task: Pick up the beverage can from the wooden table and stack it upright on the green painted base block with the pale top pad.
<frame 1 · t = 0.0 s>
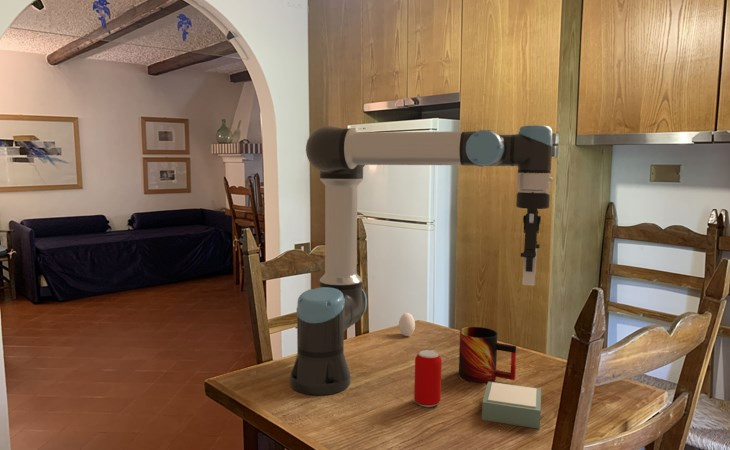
hand: (529, 279, 128), 28 cm above the table, fingers open, 13 cm apart
mug: (485, 377, 140), on the table
egg: (406, 336, 173), on the table
beverage can: (427, 403, 124), on the table
base: (512, 412, 119), on the table
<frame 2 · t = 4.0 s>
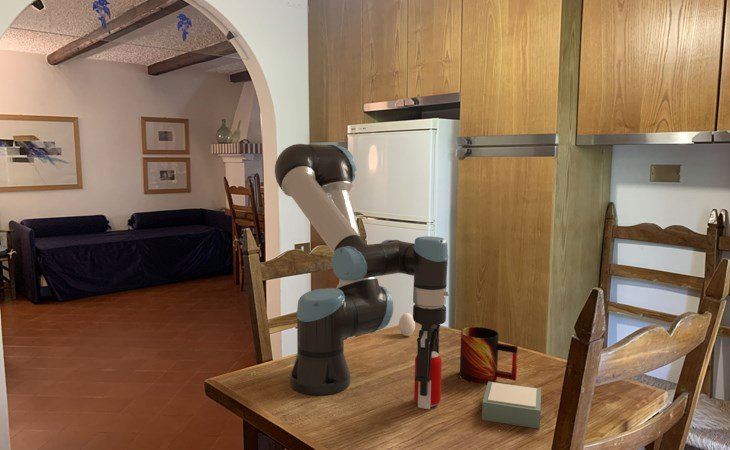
hand: (427, 401, 124), 0 cm above the table, fingers closed on beverage can, 6 cm apart
beverage can: (427, 403, 124), on the table, touching gripper
everything else where it was.
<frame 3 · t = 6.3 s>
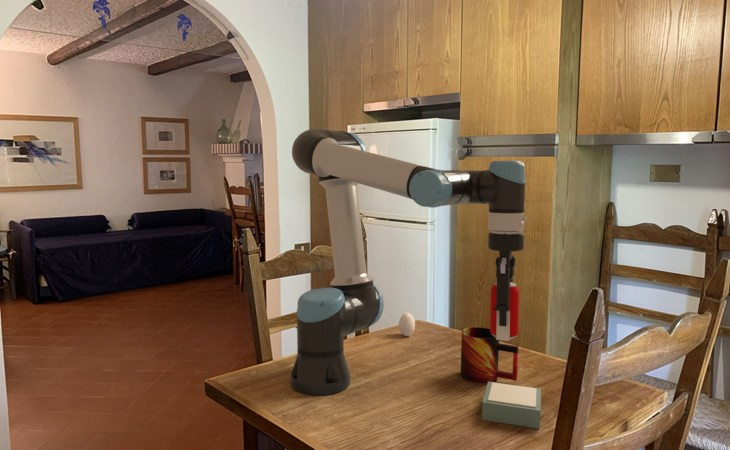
hand: (504, 335, 118), 18 cm above the table, fingers closed on beverage can, 6 cm apart
beverage can: (504, 337, 118), point 17 cm above the table, touching gripper
everything else where it was.
when the fingers open (6 cm above the table, at t = 8.8 s): beverage can drops 2 cm, resting on base.
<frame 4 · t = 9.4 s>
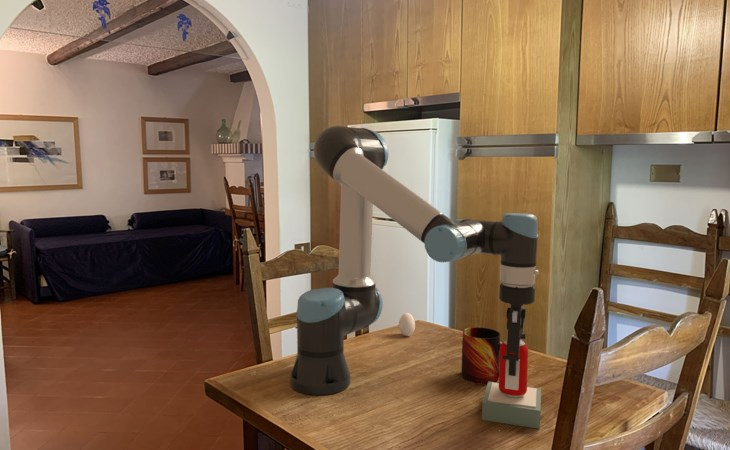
hand: (513, 377, 119), 8 cm above the table, fingers open, 13 cm apart
beverage can: (512, 394, 119), point 4 cm above the table, touching base
everything else where it was.
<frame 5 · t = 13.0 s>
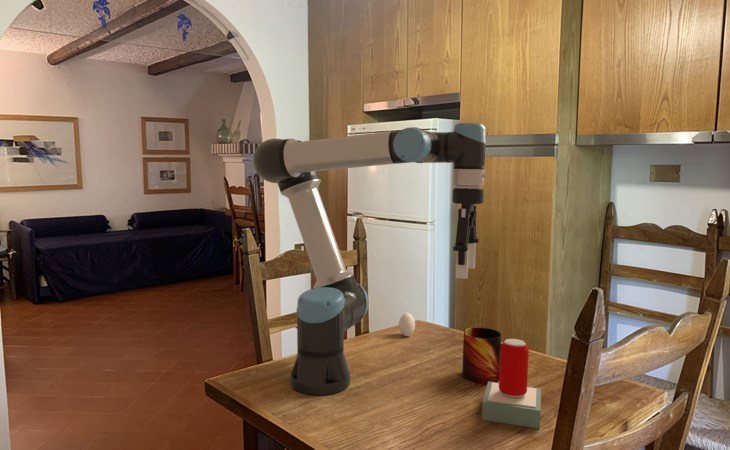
hand: (465, 273, 132), 29 cm above the table, fingers open, 13 cm apart
at the end: beverage can inside the target area on the base (0.1 cm from its centre), point 4.1 cm above the base's base; beverage can tilted 0°; the gripper is holding nothing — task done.
